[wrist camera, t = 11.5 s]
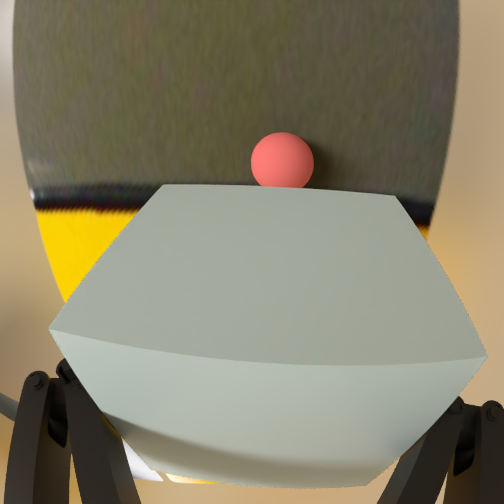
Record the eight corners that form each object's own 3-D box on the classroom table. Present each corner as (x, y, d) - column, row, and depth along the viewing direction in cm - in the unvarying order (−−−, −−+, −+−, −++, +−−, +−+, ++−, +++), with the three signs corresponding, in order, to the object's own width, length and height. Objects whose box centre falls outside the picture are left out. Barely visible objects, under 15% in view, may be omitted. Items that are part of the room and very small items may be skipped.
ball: (269, 213, 26) (272, 172, 29) (325, 195, 24) (321, 154, 26) (234, 174, 23) (242, 134, 25) (296, 149, 20) (295, 111, 23)
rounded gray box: (163, 184, 13) (48, 328, 6) (394, 196, 13) (488, 356, 5) (189, 340, 19) (150, 469, 12) (352, 350, 18) (366, 485, 11)
